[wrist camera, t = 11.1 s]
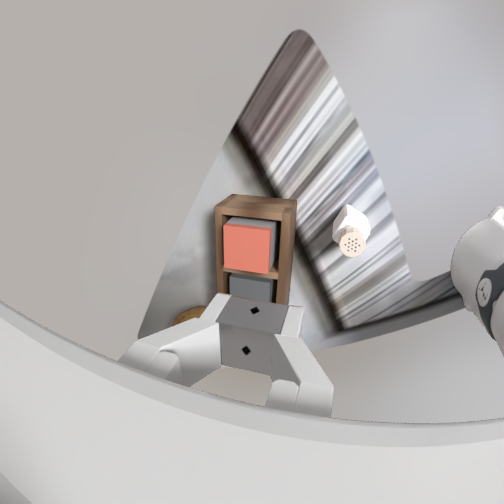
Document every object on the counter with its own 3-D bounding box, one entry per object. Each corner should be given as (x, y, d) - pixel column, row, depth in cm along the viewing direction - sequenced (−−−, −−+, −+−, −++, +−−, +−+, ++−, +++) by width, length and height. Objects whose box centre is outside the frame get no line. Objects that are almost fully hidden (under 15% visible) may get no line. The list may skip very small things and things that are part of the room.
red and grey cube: (279, 216, 41) (269, 230, 36) (277, 255, 44) (267, 274, 38) (238, 211, 43) (223, 225, 37) (238, 249, 45) (224, 267, 40)
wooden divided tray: (297, 200, 43) (289, 214, 36) (288, 303, 50) (280, 328, 44) (232, 194, 45) (214, 206, 39) (232, 293, 53) (218, 316, 47)
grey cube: (278, 264, 47) (270, 283, 41) (276, 296, 49) (268, 317, 44) (242, 258, 48) (229, 276, 43) (241, 290, 51) (230, 310, 45)
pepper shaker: (345, 201, 41) (347, 222, 32) (368, 216, 41) (375, 240, 32) (331, 223, 43) (329, 249, 34) (353, 237, 43) (356, 266, 34)
